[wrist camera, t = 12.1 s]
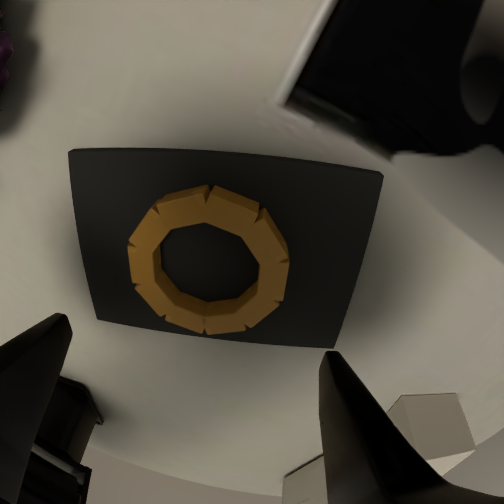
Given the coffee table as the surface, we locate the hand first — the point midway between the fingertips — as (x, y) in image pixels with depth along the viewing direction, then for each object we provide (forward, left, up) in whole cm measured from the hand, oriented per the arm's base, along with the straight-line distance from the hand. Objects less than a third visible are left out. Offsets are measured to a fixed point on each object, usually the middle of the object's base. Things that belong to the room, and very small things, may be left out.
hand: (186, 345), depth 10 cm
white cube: (-17, +14, -6) cm, 23 cm away
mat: (0, 0, -6) cm, 6 cm away
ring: (0, 0, -6) cm, 6 cm away
